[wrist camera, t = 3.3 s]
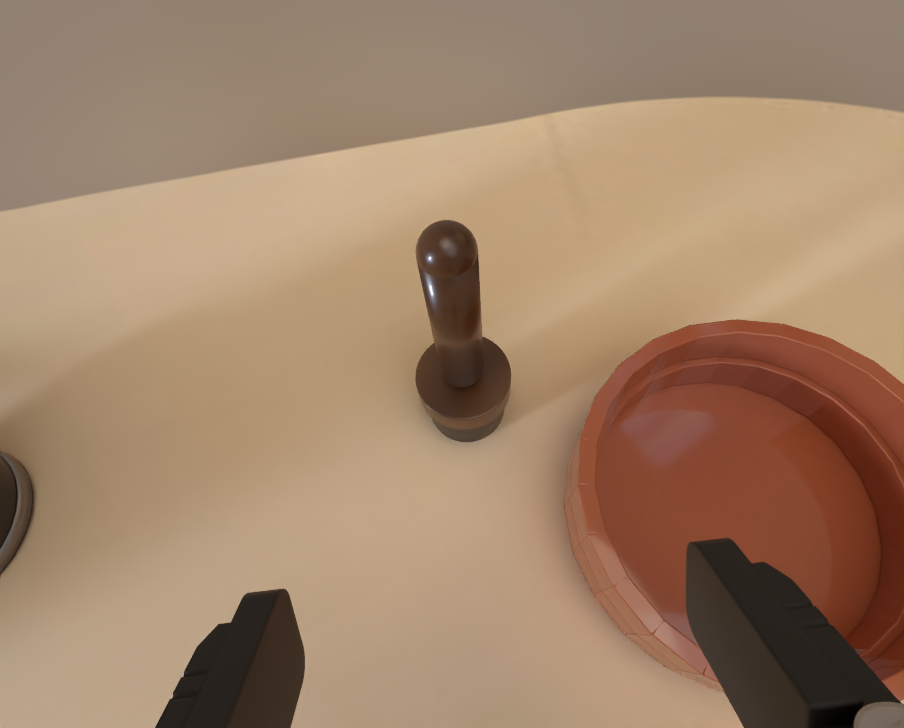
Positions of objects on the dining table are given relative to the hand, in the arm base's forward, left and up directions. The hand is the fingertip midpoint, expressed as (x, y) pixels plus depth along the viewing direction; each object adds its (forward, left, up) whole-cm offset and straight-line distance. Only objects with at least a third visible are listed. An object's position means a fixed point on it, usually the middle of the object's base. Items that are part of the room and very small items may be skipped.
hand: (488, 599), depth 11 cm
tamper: (-8, +8, -19) cm, 22 cm away
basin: (+6, +12, -19) cm, 23 cm away
